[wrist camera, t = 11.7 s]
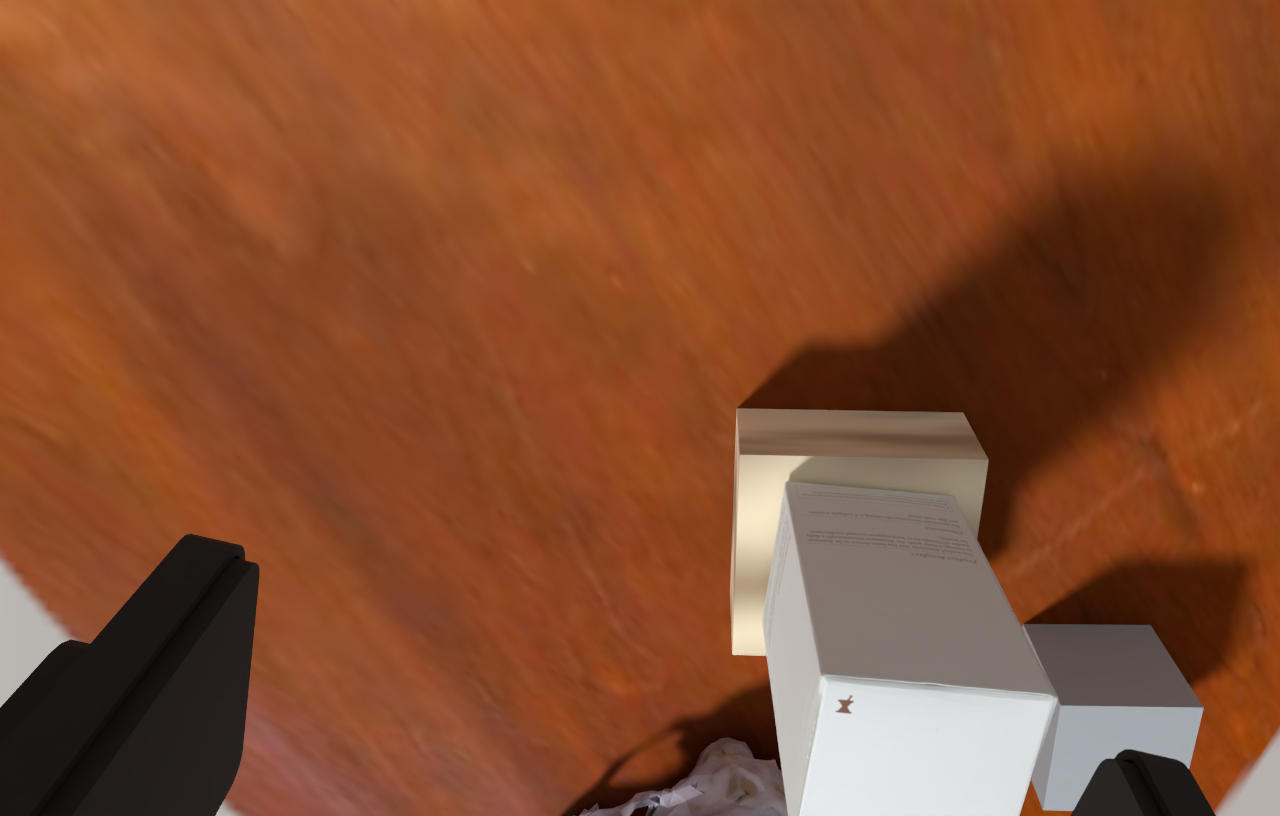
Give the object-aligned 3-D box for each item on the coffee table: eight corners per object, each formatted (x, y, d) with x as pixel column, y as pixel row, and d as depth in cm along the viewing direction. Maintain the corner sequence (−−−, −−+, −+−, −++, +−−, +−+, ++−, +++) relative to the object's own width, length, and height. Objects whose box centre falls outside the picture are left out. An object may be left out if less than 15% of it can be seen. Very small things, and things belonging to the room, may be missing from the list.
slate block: (1022, 622, 51) (1060, 705, 45) (1150, 623, 51) (1203, 707, 45) (1008, 720, 53) (1043, 810, 48) (1129, 722, 53) (1178, 812, 48)
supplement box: (757, 624, 46) (782, 853, 34) (783, 474, 43) (820, 671, 31) (924, 641, 46) (1005, 876, 34) (962, 493, 43) (1065, 696, 31)
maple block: (736, 404, 47) (739, 454, 43) (961, 409, 47) (988, 459, 42) (729, 591, 51) (732, 654, 47) (936, 596, 51) (959, 661, 46)
